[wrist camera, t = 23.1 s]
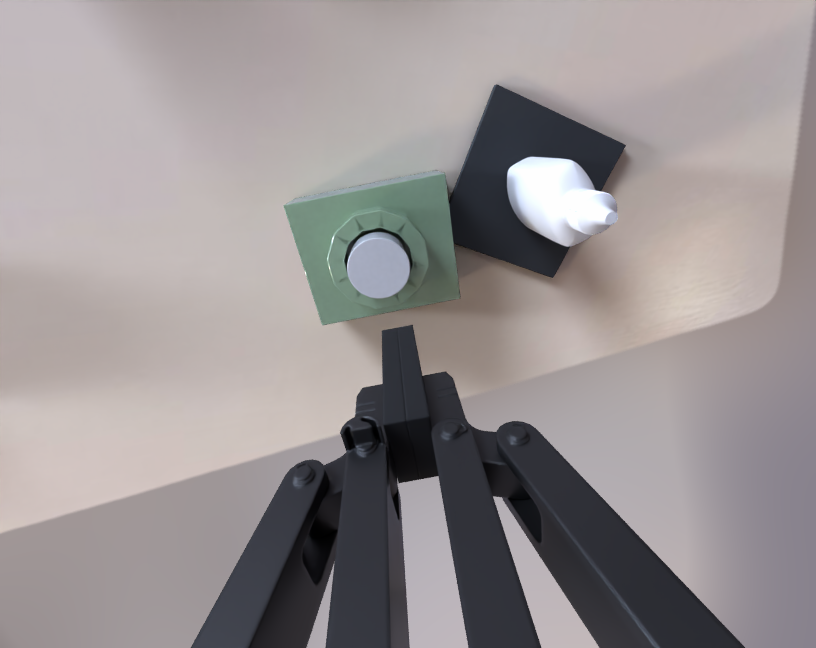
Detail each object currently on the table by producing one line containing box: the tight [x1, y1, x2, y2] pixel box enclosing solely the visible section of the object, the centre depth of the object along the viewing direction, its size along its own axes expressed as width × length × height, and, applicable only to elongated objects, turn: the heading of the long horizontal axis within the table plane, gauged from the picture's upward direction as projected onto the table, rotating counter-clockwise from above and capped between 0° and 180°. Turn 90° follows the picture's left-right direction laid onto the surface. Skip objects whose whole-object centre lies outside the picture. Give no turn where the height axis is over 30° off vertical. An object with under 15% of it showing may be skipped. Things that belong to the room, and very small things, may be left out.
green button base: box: [284, 170, 460, 325], centre depth 29 cm, size 12×10×6 cm
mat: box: [449, 85, 626, 278], centre depth 31 cm, size 12×12×1 cm
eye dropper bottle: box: [507, 157, 618, 247], centre depth 25 cm, size 4×6×12 cm
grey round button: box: [347, 232, 410, 298], centre depth 26 cm, size 4×4×2 cm
